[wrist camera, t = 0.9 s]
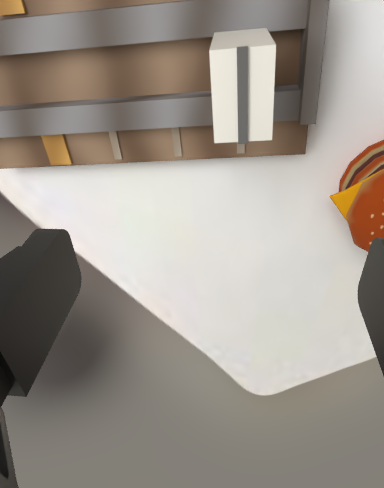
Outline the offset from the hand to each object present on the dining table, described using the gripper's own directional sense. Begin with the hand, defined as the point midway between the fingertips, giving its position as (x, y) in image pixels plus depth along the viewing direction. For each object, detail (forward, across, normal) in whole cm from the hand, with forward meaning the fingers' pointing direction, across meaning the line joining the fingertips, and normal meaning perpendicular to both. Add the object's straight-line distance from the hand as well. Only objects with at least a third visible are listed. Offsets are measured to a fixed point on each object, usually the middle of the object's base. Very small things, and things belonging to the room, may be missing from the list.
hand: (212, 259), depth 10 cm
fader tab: (+20, -1, -1) cm, 20 cm away
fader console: (+22, +7, -1) cm, 23 cm away
